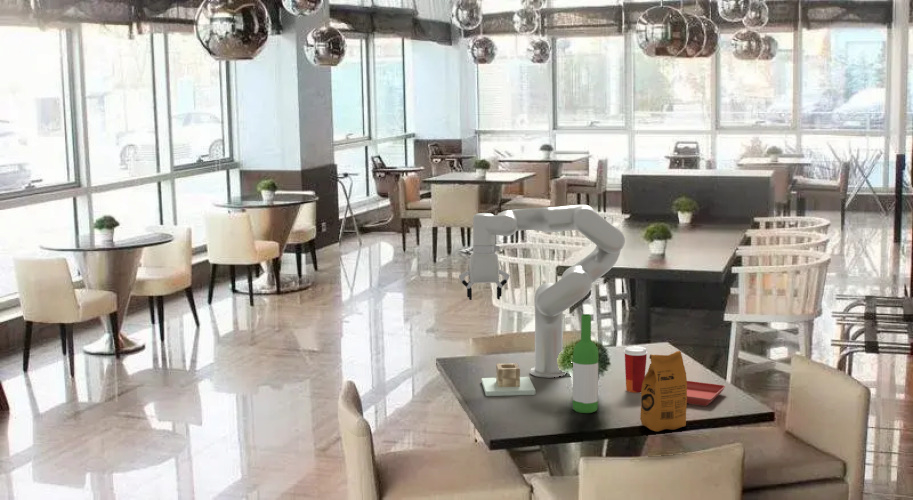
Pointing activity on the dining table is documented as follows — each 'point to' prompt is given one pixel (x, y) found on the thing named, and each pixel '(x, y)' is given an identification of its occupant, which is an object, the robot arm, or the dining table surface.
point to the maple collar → (508, 375)
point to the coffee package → (664, 393)
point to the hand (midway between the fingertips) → (484, 299)
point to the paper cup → (635, 368)
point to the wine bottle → (585, 370)
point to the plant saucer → (702, 392)
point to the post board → (494, 390)
